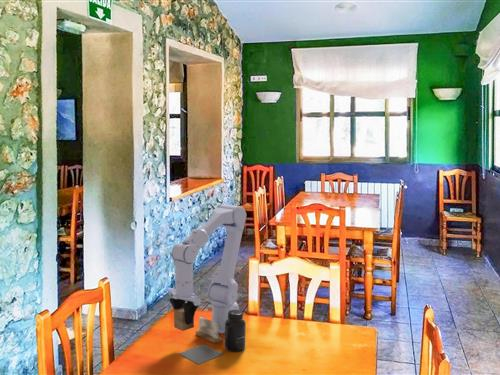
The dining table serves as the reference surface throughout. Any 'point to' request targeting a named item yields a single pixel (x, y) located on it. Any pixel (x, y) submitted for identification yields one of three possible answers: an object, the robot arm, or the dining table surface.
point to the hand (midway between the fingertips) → (184, 321)
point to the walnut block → (181, 320)
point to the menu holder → (208, 330)
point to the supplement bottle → (235, 331)
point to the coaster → (200, 354)
